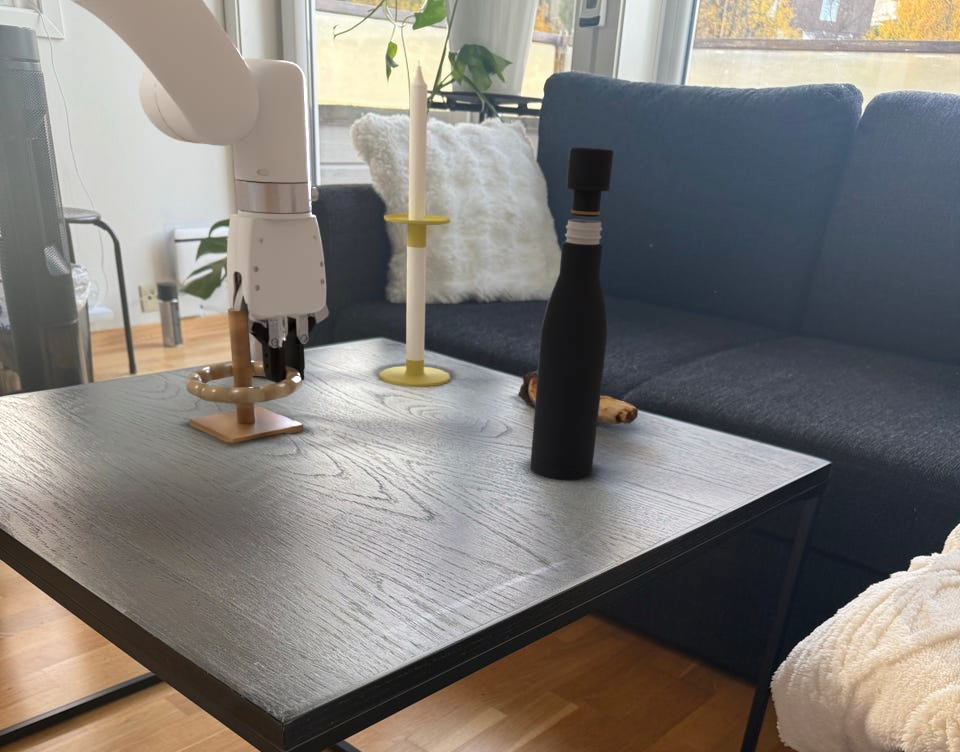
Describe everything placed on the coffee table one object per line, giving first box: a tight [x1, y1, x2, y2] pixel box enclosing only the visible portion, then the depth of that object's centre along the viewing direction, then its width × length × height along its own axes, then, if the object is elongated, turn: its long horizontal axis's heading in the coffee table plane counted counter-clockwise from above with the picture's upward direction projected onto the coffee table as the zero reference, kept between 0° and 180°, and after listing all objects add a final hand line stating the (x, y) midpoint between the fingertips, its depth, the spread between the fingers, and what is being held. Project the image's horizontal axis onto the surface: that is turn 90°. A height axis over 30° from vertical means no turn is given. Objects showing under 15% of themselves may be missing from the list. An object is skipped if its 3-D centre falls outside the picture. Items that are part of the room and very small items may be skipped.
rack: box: [189, 307, 304, 444], centre depth 100 cm, size 9×9×13 cm
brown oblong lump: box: [517, 370, 639, 425], centre depth 113 cm, size 9×5×18 cm
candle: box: [378, 60, 452, 387], centre depth 119 cm, size 10×10×38 cm
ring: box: [185, 361, 303, 405], centre depth 100 cm, size 12×12×2 cm
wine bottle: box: [529, 147, 614, 481], centre depth 88 cm, size 6×6×30 cm
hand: (285, 378), depth 104 cm, fingers closed on ring, 1 cm apart
